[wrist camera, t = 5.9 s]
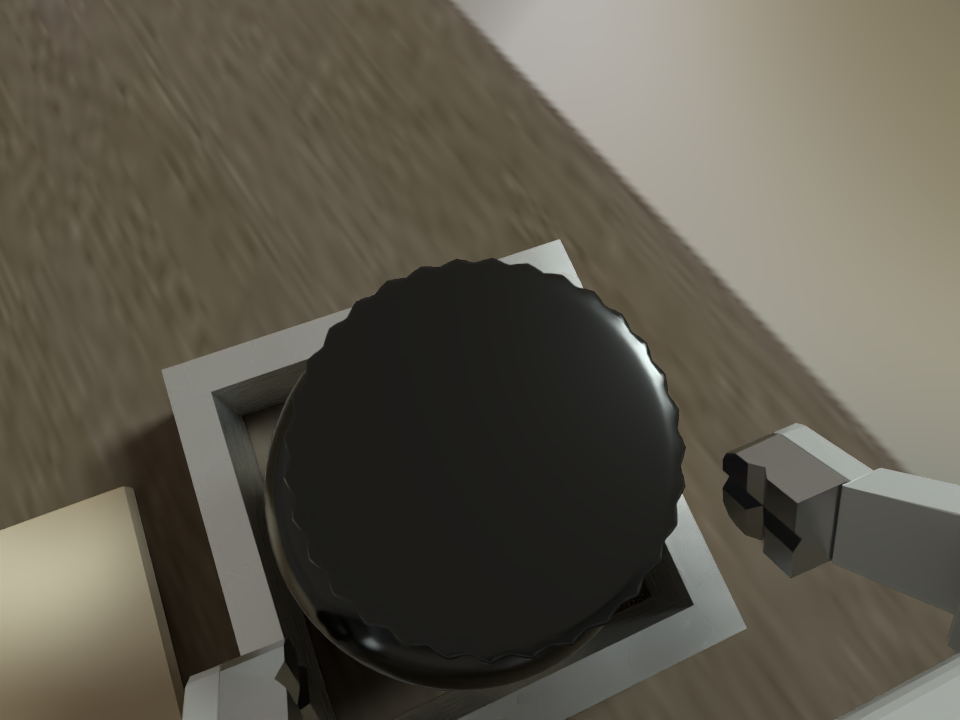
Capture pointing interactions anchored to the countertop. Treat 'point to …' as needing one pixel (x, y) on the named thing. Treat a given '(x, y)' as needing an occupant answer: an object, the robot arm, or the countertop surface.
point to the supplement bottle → (473, 475)
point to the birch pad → (84, 618)
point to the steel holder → (276, 614)
